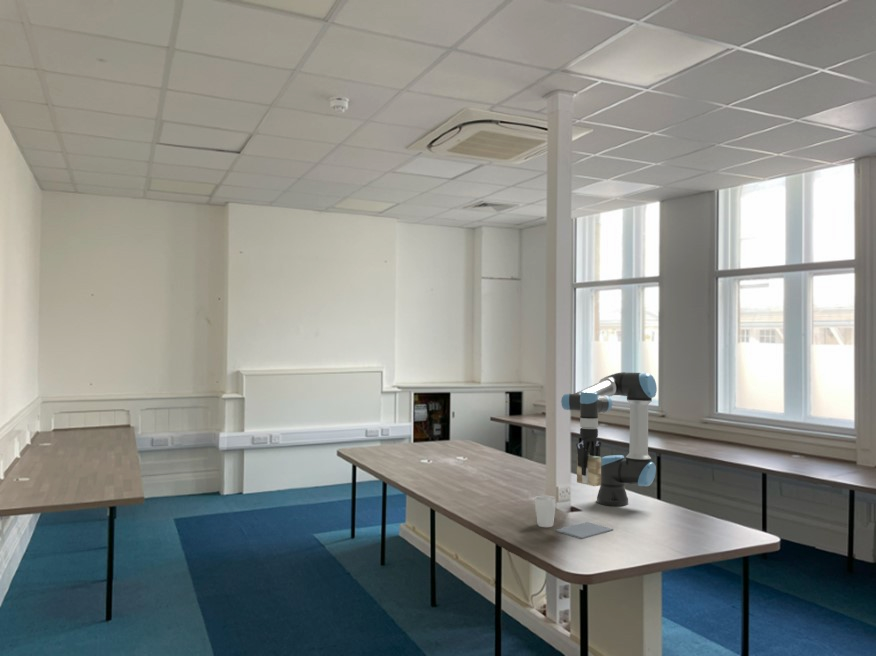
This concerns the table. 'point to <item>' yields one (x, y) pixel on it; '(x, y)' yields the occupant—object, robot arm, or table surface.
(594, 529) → the mat
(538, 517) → the white tapered cylinder
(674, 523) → the table surface
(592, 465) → the slab
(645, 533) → the table surface
